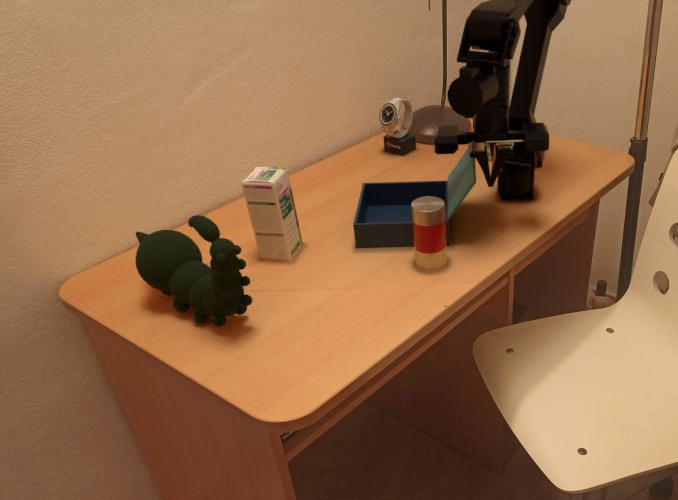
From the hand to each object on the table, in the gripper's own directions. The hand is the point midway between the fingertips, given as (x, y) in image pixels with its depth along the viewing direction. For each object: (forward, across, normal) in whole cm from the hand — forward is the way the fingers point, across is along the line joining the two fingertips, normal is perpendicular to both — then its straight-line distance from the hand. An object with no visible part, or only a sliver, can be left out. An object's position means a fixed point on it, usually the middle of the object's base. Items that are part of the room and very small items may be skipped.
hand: (490, 185), depth 117 cm
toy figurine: (+8, +46, +24) cm, 52 cm away
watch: (+8, +18, -35) cm, 40 cm away
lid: (-2, +5, 0) cm, 5 cm away
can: (+8, +10, +13) cm, 18 cm away
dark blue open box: (+8, +15, 0) cm, 17 cm away
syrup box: (+8, +36, +8) cm, 38 cm away
